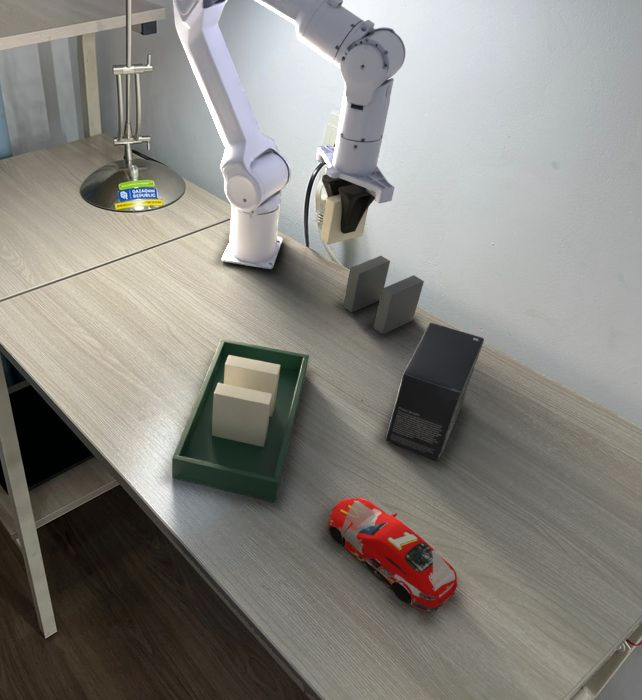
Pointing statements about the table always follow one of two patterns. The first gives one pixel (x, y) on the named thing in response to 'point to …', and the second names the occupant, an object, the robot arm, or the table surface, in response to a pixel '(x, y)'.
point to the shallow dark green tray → (233, 456)
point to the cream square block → (338, 222)
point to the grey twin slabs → (382, 294)
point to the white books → (245, 400)
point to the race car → (393, 553)
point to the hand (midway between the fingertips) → (343, 227)
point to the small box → (433, 390)
